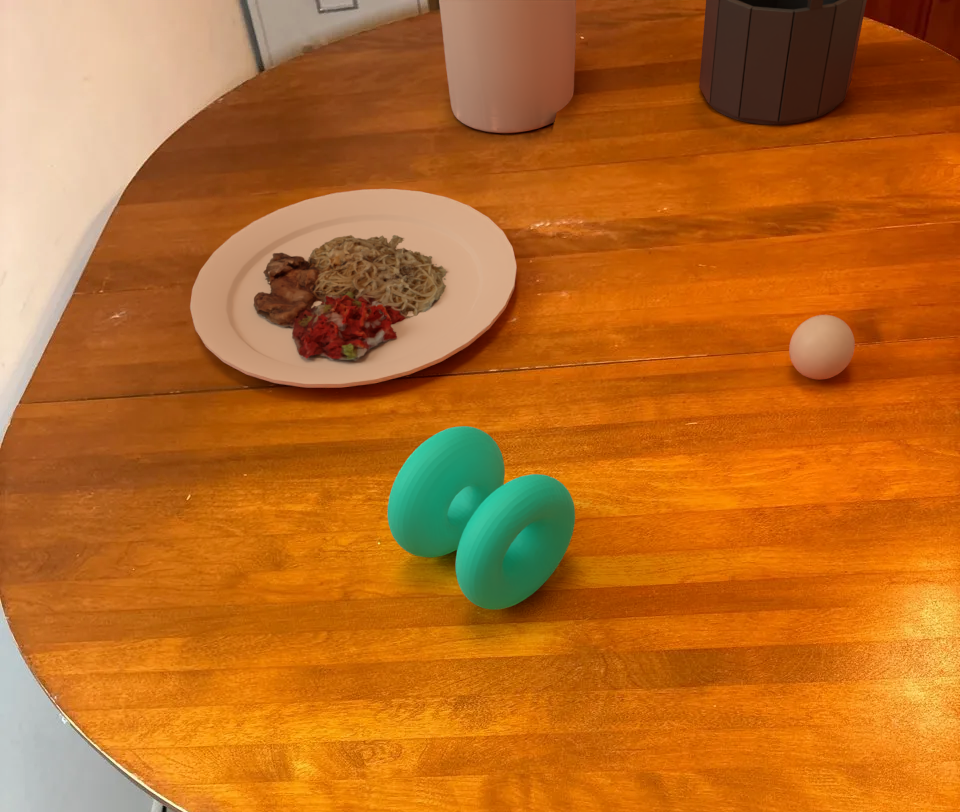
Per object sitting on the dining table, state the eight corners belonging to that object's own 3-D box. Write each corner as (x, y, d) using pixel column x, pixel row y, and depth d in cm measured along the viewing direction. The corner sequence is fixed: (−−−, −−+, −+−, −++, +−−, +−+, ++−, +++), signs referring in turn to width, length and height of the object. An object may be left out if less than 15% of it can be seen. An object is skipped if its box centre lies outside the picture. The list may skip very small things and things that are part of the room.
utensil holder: (510, 59, 124) (500, -115, 110) (607, 95, 117) (610, -87, 104) (420, 111, 119) (398, -66, 105) (517, 151, 112) (507, -33, 98)
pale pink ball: (846, 354, 88) (858, 302, 84) (849, 393, 85) (862, 342, 81) (784, 352, 89) (793, 301, 85) (785, 391, 86) (795, 340, 82)
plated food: (446, 176, 110) (443, 145, 107) (572, 335, 92) (572, 302, 90) (165, 259, 104) (154, 228, 102) (242, 444, 87) (231, 413, 84)
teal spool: (488, 496, 81) (478, 393, 73) (584, 562, 76) (584, 460, 68) (390, 568, 77) (368, 468, 70) (483, 643, 73) (471, 545, 65)
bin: (869, 113, 108) (901, -36, 97) (724, 136, 108) (740, -12, 97) (817, 47, 118) (841, -96, 107) (684, 68, 117) (694, -74, 106)
